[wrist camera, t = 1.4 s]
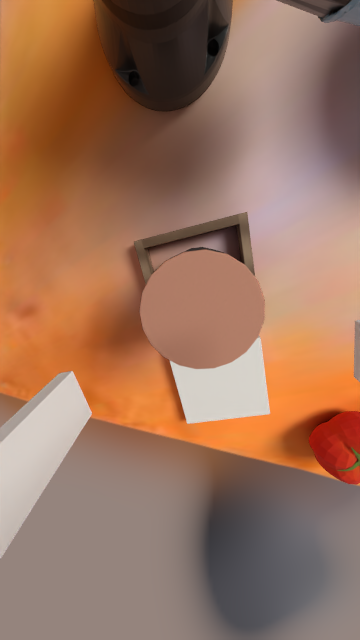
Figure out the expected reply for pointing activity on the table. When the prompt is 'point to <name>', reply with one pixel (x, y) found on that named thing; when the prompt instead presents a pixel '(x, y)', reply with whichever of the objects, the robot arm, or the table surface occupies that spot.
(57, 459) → the robot arm
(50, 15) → the table surface
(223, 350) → the coffee jar
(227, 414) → the tile
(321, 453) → the tomato
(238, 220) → the holder
